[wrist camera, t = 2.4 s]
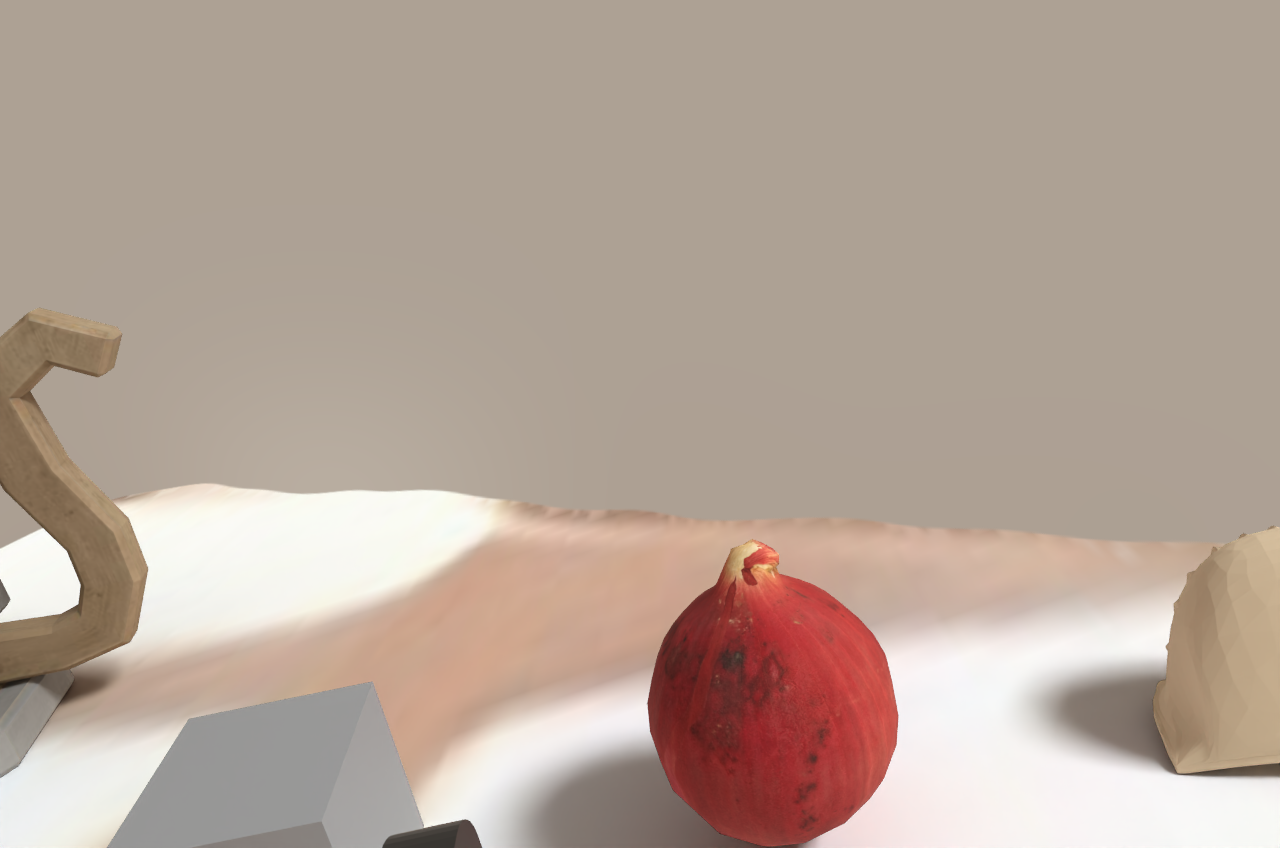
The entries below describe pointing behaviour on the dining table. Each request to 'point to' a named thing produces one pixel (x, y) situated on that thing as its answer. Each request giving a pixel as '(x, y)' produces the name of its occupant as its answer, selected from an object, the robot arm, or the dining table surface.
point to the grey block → (278, 779)
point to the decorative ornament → (1225, 660)
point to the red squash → (771, 705)
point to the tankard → (59, 529)
